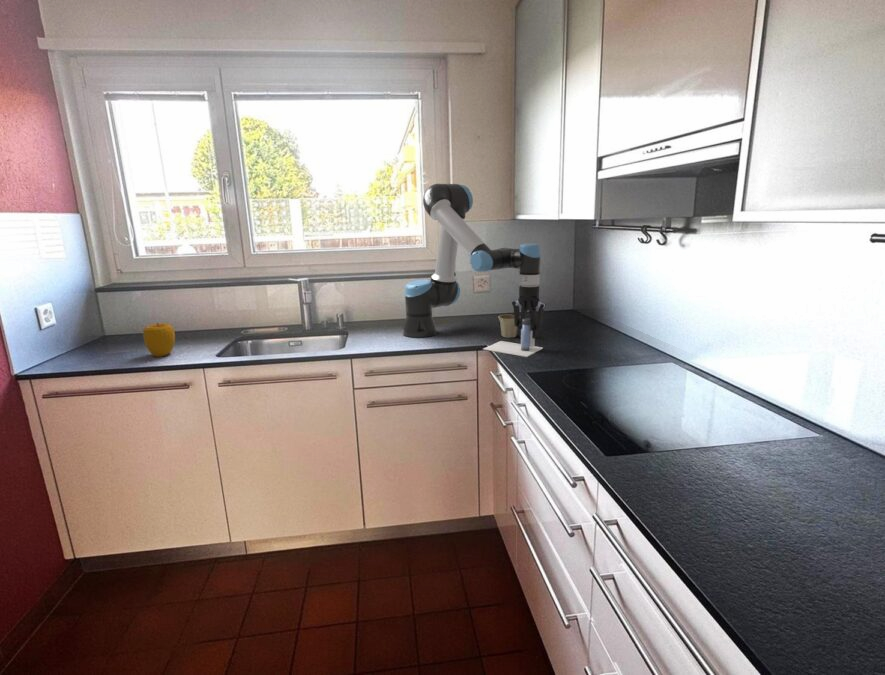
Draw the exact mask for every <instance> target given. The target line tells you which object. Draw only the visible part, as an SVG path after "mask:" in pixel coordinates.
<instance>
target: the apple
mask: <svg viewBox="0 0 885 675" xmlns="http://www.w3.org/2000/svg"><path fill="white" fill-rule="evenodd" d="M142 334H143V341H144V343H145V344H144V345H145V346H146V348H147V350H148V352H149V353H150V354H151V355H152V356H154V357H157V358H161V357H164V356H167V355H169V354H171V353H172V351H173V349H174V346H175V341H176V333H175V328H174V326H173V325H171V323H170V324H169V323H165V322H164V323H161V322H160V323H155V324H154V323H153V324H149V325H148V326H146V327H144V329H143V332H142Z"/></svg>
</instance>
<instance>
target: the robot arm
mask: <svg viewBox="0 0 885 675" xmlns="http://www.w3.org/2000/svg"><path fill="white" fill-rule="evenodd" d="M422 197H423V198H422V204H423V206H424V210H425V211H426V213H427V214H428V216H429V217H430V218H431V219H432V220H434V221H437V223H439V225H440V226H439V233H438V234H439V236H438V245H437V253H436V261H435V270H434V273H433V274H432V275H431V276H430V280H429V279H419V280H417V279H416V280H413V281H410V282H408V283H407V284H406V285H405V288H404V289H405V290H404V298H405V319H404V324H403V328H402V335H404V336H405V337H408V338H427V337H432V336H435V335H437V327H436V324H435V321H434V318H433V309H434V308H441V307H448V306H451V305H453V304H455V303H457V302H458V300H459V298H460V295H461V294H460V293H461V288H460V285H459V283H458V282H457V277H456V276H455V270H456V269H455V268H456V261H457V255H458V247H460V248H461V249H462V250H463V251H464V252H465V253H466V254H467V255H468V256H469V258H470V259H469V264H470V265H471V269H473V271H474V272H480V273H481V272H484V273H485V272H489V271H496V270H505V269H517V270H518V269H519V281H518V282H519V286H518V295H519V296H518V299H517V300H514V301H512V302H511V304H512V307H513V315H514V323H515V326H516V327H517V329H518V332H519V333H518V336H519V337H520V341H521V340H522V319H523V318H527V313H528V311H529V313H530V319H531V330H530V347H533V346H536V344H535V343H536V342H535V341H536V338H537V337H538V330H540V329H542V328H543V322H544V313H545V308H546V307H547V304H546V303H543V302H541V301H540V286H539V285H540V280H541V279H540V273H541V272H540V266H541V257H542V255H541V246H540V244H538V243H521V244H520V245H519V248H509V247H499V248H497V249H491V248H490V247H489V246H488V245H487V244H486V243H485V242H484V241H483V239H481V238H480V236H479V235H477V233H476V232H475V231H474V230H473V229H472V227H471V226H469V225H468V224H467V222H466V221H465V219H466V214H467V213H468V212H470V210H471V209H472V207H473V204H474V198H473V194H472V192H471V190H470V189H469V187H467V185H464V184H459V183H434V184H432V185H430V186H429V187H428V188H427V189H426V190H425V192H424V194H423V196H422ZM520 306H521V307H520ZM537 307H538V310H537ZM520 308H521V309H520ZM520 311H521V312H520Z"/></svg>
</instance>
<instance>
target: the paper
mask: <svg viewBox="0 0 885 675" xmlns="http://www.w3.org/2000/svg"><path fill="white" fill-rule="evenodd" d="M543 349H544V347H542V346H541V347H540V346H536V345H535V346H533V347H530V349H529V350H528V351H525V350H521V343H516V342H515V343H514V342H510V341H503V340H500V341H498V342H495V343H493V344H491V345H489V346H486V347H483V348H482V350H484V351H489V352H495V353H502V354H507V355H514V356H519V357H524V358H528V357H530V356H532V355H534V354H536V353H537V352H539V351H541V350H543Z"/></svg>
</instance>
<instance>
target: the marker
mask: <svg viewBox="0 0 885 675" xmlns="http://www.w3.org/2000/svg"><path fill="white" fill-rule="evenodd" d="M531 329H532V324H531V318H529V317H528V318H527V317H526V318H523V319H522V340H521V339H520V344H521V350H525V351H528V350H529V349H530V330H531Z"/></svg>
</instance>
